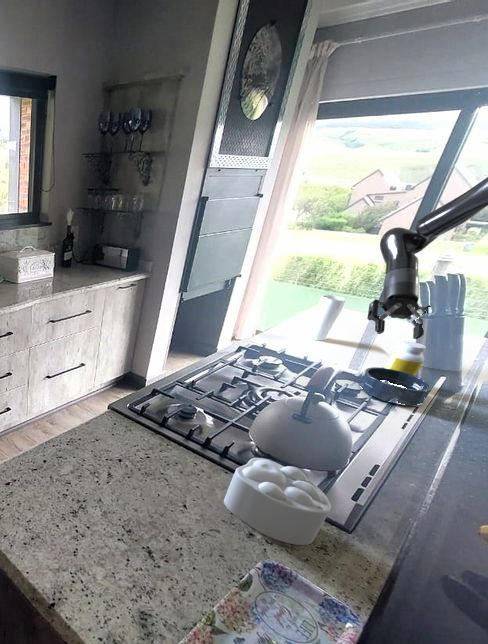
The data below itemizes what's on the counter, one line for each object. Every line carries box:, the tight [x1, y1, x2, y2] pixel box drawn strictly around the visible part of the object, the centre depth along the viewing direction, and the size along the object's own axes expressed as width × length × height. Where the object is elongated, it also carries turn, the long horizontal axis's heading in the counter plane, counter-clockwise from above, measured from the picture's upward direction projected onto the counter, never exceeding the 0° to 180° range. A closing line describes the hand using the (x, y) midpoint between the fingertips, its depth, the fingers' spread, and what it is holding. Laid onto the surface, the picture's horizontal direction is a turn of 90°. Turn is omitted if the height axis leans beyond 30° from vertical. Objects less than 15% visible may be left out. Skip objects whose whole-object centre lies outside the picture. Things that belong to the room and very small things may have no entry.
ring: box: [358, 366, 433, 406], centre depth 108 cm, size 13×13×5 cm
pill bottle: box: [384, 340, 427, 376], centre depth 113 cm, size 6×6×12 cm
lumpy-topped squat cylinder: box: [223, 457, 332, 546], centre depth 68 cm, size 10×13×9 cm
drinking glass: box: [307, 294, 346, 342], centre depth 141 cm, size 7×7×15 cm
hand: (398, 335), depth 118 cm, fingers open, 8 cm apart
